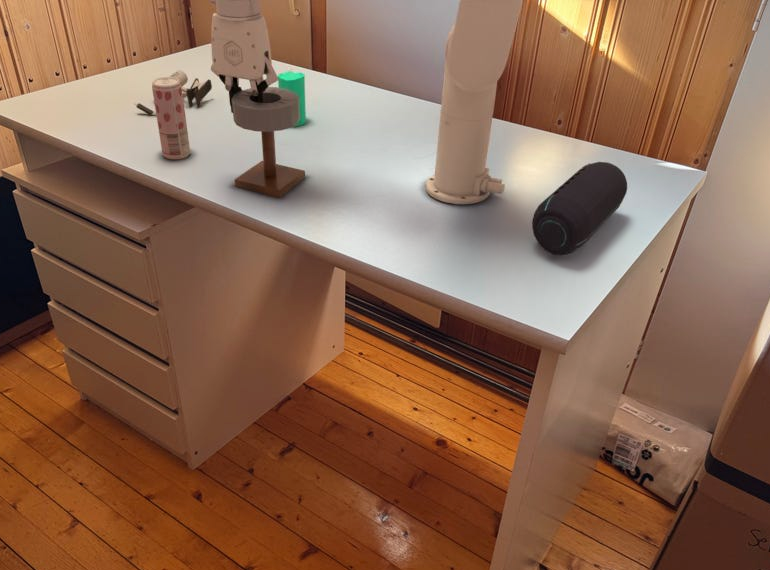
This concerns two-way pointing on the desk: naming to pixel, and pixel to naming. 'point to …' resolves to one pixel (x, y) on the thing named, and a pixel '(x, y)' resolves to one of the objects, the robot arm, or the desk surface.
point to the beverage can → (171, 117)
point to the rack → (270, 172)
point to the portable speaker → (579, 208)
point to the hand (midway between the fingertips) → (247, 111)
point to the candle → (295, 90)
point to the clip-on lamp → (186, 90)
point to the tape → (266, 110)
